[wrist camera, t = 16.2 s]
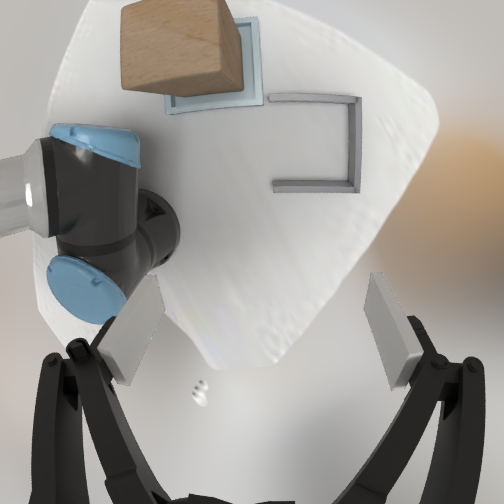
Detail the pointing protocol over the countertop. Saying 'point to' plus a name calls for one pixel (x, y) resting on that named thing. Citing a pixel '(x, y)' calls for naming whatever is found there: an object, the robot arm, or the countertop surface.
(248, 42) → the tray
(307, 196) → the countertop surface
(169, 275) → the countertop surface
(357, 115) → the bay
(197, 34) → the wooden block
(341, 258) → the countertop surface
